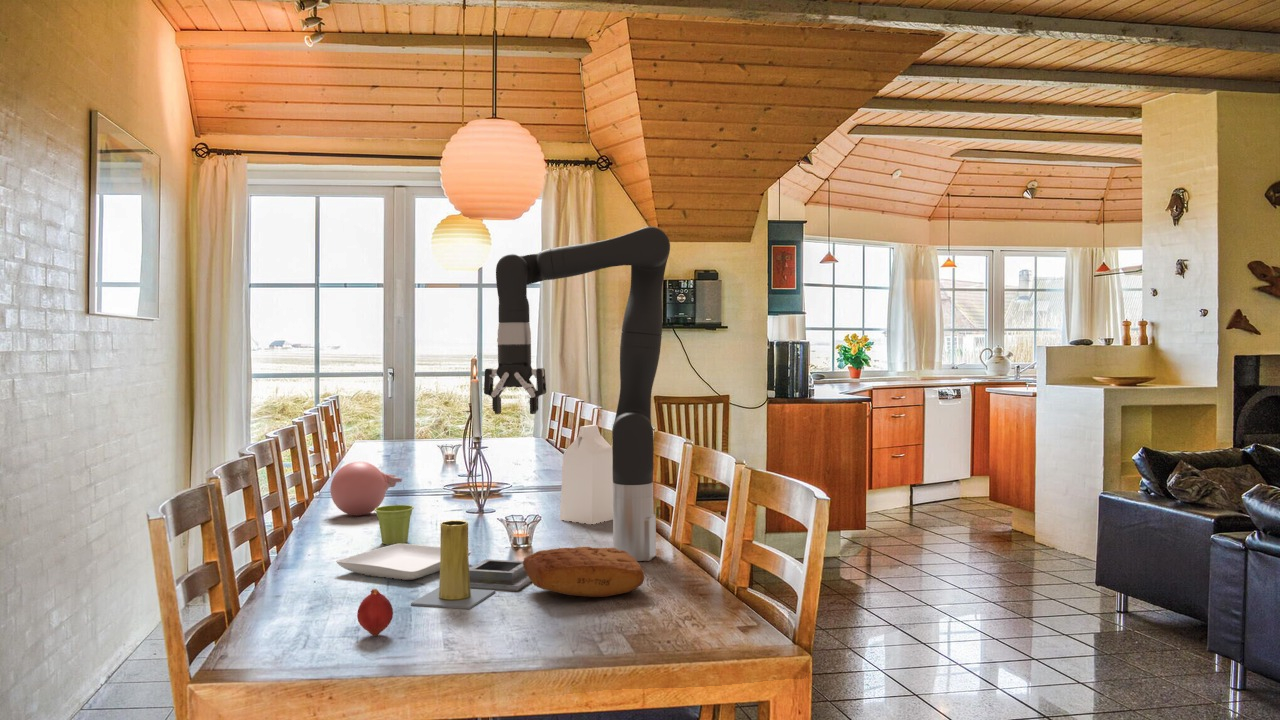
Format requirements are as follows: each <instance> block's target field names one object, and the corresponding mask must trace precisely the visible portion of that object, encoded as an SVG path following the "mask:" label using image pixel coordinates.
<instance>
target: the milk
mask: <svg viewBox="0 0 1280 720" xmlns="http://www.w3.org/2000/svg"><path fill="white" fill-rule="evenodd" d="M577 435H578V437H576V438H575V439H574V441H573V442H571V444H570V445H569V446H568V447H567V448H566V449H565V451H564V453H563V454H562V467H561V468H562V469H561V470H562V471H561V486H560V487H561V492H560V508H559V509H560V513H559V520H560V521H562V520H564V521H563V522H569V521H572V523H576V522H579V524H584V523H586V524H585V525H591V524H593V525H597V524H601V523H605V522H608V521H613V470H612V466H613V455H612V445H611V444H610V443H609V442H608V441H607V440H606V439H605V438H604V437H603V436H602V434H601V432H600V429H599V427H598V424H589V425H583V426H579V429H578V434H577ZM604 521H605V522H604ZM600 522H601V523H600ZM596 523H597V524H596Z"/></svg>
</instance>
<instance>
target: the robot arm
mask: <svg viewBox="0 0 1280 720" xmlns="http://www.w3.org/2000/svg"><path fill="white" fill-rule="evenodd" d="M670 251H671V242H670V239H669V237H668V235H667V234H666V232H665V231H663V230H662V229H660V228H658V227H655V226H645V227H642V228H639V229H637V230H634V231H632V232H629V233H626V234H623V235H619V236H616V237H615V236H614V237H613V238H608V239H603V240H599V241H593V242H585V243H580V244H579V243H577V244H572V245H564V246H559V247H552V248H547V249H544V250H540V251H539V252H537V253H536V252H535V253H529V254H525V255H517V254H515V253H509V254H505V255H503V256H502V257H501V258H499V260H498V262H497V264H496V265H495V266H496V267H495V268H496V269H495V280H496V282H495V283H496V289H497V297H498V327H497V339H496V341H497V363H498V364H497V366H498V367H497V368H496V369H495V368H485V369H484V381H483V383H484V384H483V393H484V395H487V396H490V397H491V399H492V400H491V401H492V405H491V406H492V411H493V412H494V414H495V415H501V414H502V397H500V396H501V395H502V393H503V392H504V391H505V390H506V388H514V387H515V388H523V389H524V390H525V391H526V392H527V393H528V395H529V396H530V397H529V414H530V415H535V414H537V412H538V411H539V397H540V396H543V395H546V393H547V384H546V383H547V382H546V369H545V368H544V367H541V368H540V367H539V368H533V367H532V332H531V323H530V303H529V299H528V298H527V297H528V296H527V295H528V294H527V293H528V292H527V290H528V289H527V287H528V286H527V285H532V284H536V283H541V282H543V281H554V280H558V279H565V278H571V277H577V276H581V275H585V274H588V273H591V272H592V273H593V272H595V271H599V270H602V269H607V268H608V269H609V268H612V267H622V266H630V287H629V295H628V299H627V302H626V307H625V311H624V314H623V321H622V327H621V336H620V347H619V379H620V385H619V386H620V387H619V388H620V389H619V398H618V402H617V403H618V404H617V407H616V408H617V409H616V412H615V417H614V420H613V424H612V430H611V431H612V432H611V433H612V434H611V439H612V440H611V442H612V445H611V447H612V455H613V466H612V470H613V519H612V540H613V542H612V545H613V547H612V548H616V549H618V550H623V551H626V552H627V553H628V554H630V555H631V556H632V557H633V558H634V559H635V560H636V561H637V562H642V561H645V562H646V561H647V562H648V561H649V562H650V561H651V560H652V559H654V558H655V557H656V556H657V530H656V529H657V527H656V526H657V525H656V523H657V521H656V519H657V517H656V514H655V513H654V467H655V465H654V429H653V428H654V427H653V425H652V419H651V417H652V415H651V414H652V410H651V408H652V406H651V405H652V391H653V386H654V382H655V378H656V375H657V370H658V366H659V365H658V364H659V360H660V354H661V346H662V345H661V344H662V339H663V338H662V335H663V302H662V293H663V292H662V291H663V284H664V277H665V272H666V268H667V262H668V259H669V256H670ZM496 376H497V377H498V378H499V381H498V383H497V384H496V386H495V388H494V378H496ZM532 376H534V378H535V379H536V386H537V389H536V387H535V385H534V384H533V382H532V381H531V377H532Z"/></svg>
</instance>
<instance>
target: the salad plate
mask: <svg viewBox="0 0 1280 720" xmlns="http://www.w3.org/2000/svg"><path fill="white" fill-rule="evenodd" d="M471 554H472V551H471V550H468V557H469V556H471ZM336 563H337V565H338V566H340V567H341V568H343V569H345V570H347V571H349V572H351V573H352V572H353V573H357V574H358V575H362V574H365V575H364V576H369V575H371V577H376V576H378V577H379V578H384V577H386V579H392V578H394V580H401V579H402V581H412V580H418V579H420V578H423V577H426V576H429V575H431V574H435V573H437V572H440V546H434V545H433V546H431V545H424V544H423V545H421V544H413V543H411V544H410V543H403V544H401V543H399V544H398V543H395V544H393V545H386V546H383V547H378V548H376V549H375V548H374V549H372V550H368V551H364V552H361V553H357V554H354V555H352V556H348V557H344V558H341V559H338V560H336ZM417 578H418V579H417Z"/></svg>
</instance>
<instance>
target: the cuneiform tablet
mask: <svg viewBox="0 0 1280 720" xmlns="http://www.w3.org/2000/svg"><path fill="white" fill-rule="evenodd" d="M523 566H524V569H525V570H526V572H527V574H528V576H529V578H530V580H531V582H530V583H532V584H533V585H534V586H535V587H536V588H538V589H541V590H544V591H550V592H554V593H558V594H562V595H567V596H568V595H569V596H574V597H575V596H576V597H577V596H578V597H590V598H591V597H592V598H597V597H598V598H600V597H601V598H603V597H610V596H615V595H622V594H625V593H630V592H632V591H633V590H635V589H637V588H639V587H641V586H642V585H643V583H644V580H645V572H644V570H643V568H642V566H641V565H640V564H639V561H636V560H635V559H634V558H633V557H632V556H631V555H630V554H628V553H627V552H626V551H623V550H618V549H616V548H613V547H592V546H577V547H559V548H553V549H552V548H551V549H544V550H538V551H536V552H534V553H533V554H530V555H528V556H526V557H524V558H523Z"/></svg>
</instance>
